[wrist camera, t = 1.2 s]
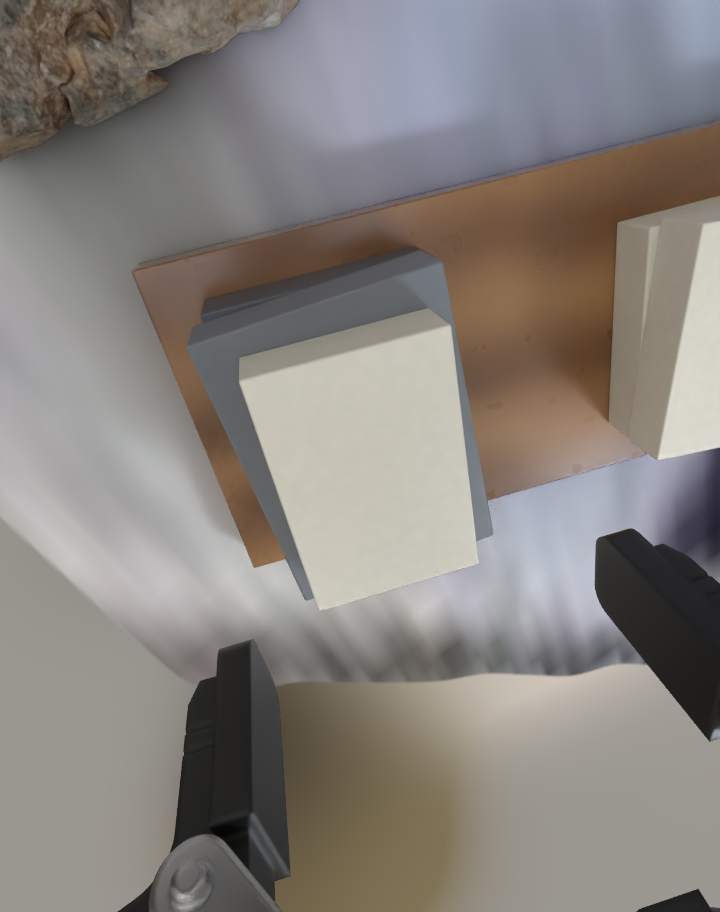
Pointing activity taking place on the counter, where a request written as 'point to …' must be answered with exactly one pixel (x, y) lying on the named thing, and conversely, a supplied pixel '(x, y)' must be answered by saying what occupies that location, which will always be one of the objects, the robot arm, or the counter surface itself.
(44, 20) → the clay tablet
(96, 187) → the counter surface
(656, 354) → the white books
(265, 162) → the counter surface
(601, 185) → the shelf board
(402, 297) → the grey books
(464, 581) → the counter surface
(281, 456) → the white book
